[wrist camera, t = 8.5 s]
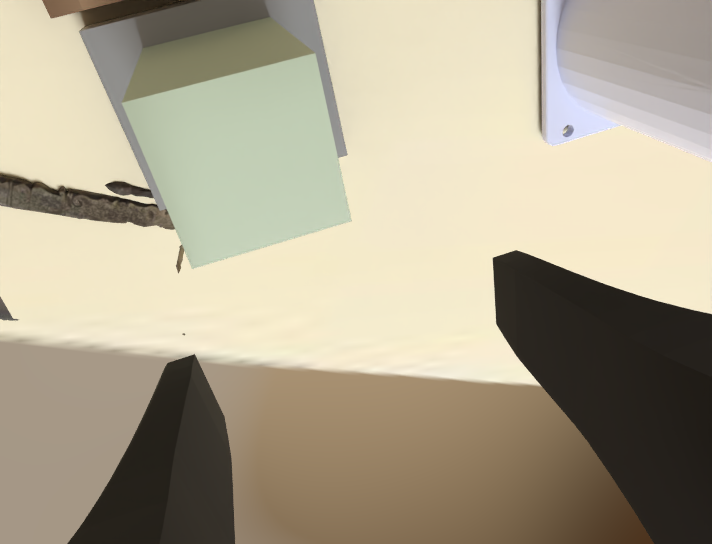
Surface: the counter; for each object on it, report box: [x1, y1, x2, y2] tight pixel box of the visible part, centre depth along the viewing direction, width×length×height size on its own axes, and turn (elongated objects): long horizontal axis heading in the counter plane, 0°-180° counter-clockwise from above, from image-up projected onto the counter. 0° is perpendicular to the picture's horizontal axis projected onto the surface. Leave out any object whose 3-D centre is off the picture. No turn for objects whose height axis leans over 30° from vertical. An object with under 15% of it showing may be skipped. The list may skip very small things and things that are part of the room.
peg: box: [122, 17, 352, 269], centre depth 15 cm, size 4×4×7 cm
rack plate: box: [79, 0, 347, 211], centre depth 18 cm, size 7×6×1 cm
